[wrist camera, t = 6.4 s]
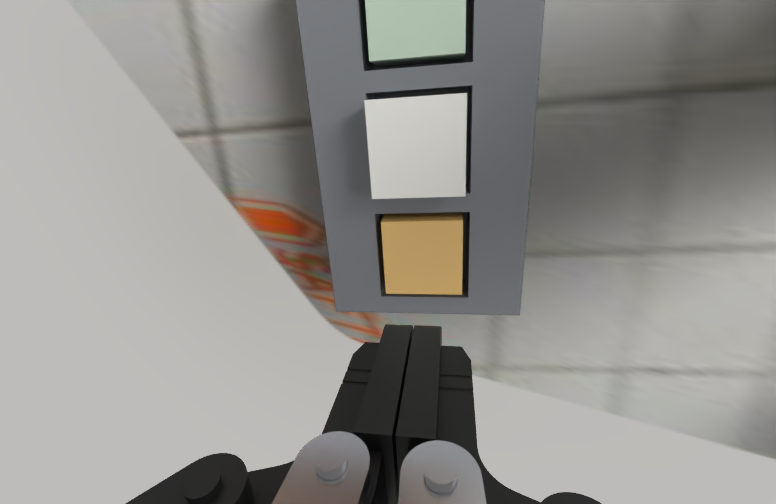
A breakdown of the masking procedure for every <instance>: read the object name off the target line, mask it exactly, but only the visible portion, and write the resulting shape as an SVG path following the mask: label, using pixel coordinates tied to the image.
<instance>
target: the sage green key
mask: <svg viewBox="0 0 776 504" xmlns="http://www.w3.org/2000/svg"><path fill="white" fill-rule="evenodd" d="M365 8H366V22H367V36H368V50H369V61H370V62H371V63H373V64H375V65H377V66H389V65H401V64H412V63H424V62H436V61H448V60H459V59H463V58H464V55H465V44H466V0H365Z"/></svg>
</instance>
